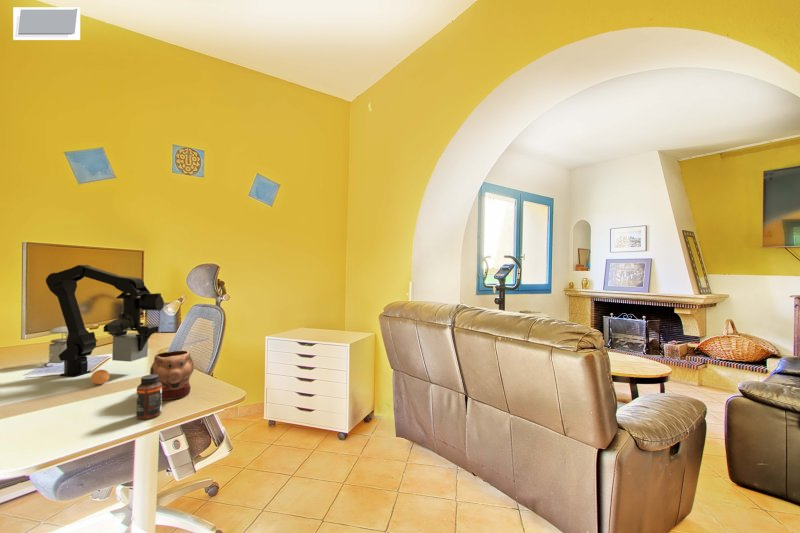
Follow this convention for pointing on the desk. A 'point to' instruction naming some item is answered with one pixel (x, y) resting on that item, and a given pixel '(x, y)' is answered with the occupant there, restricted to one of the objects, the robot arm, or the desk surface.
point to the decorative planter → (173, 373)
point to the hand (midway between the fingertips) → (130, 350)
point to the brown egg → (100, 377)
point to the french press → (57, 344)
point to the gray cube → (128, 348)
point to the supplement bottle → (149, 397)
